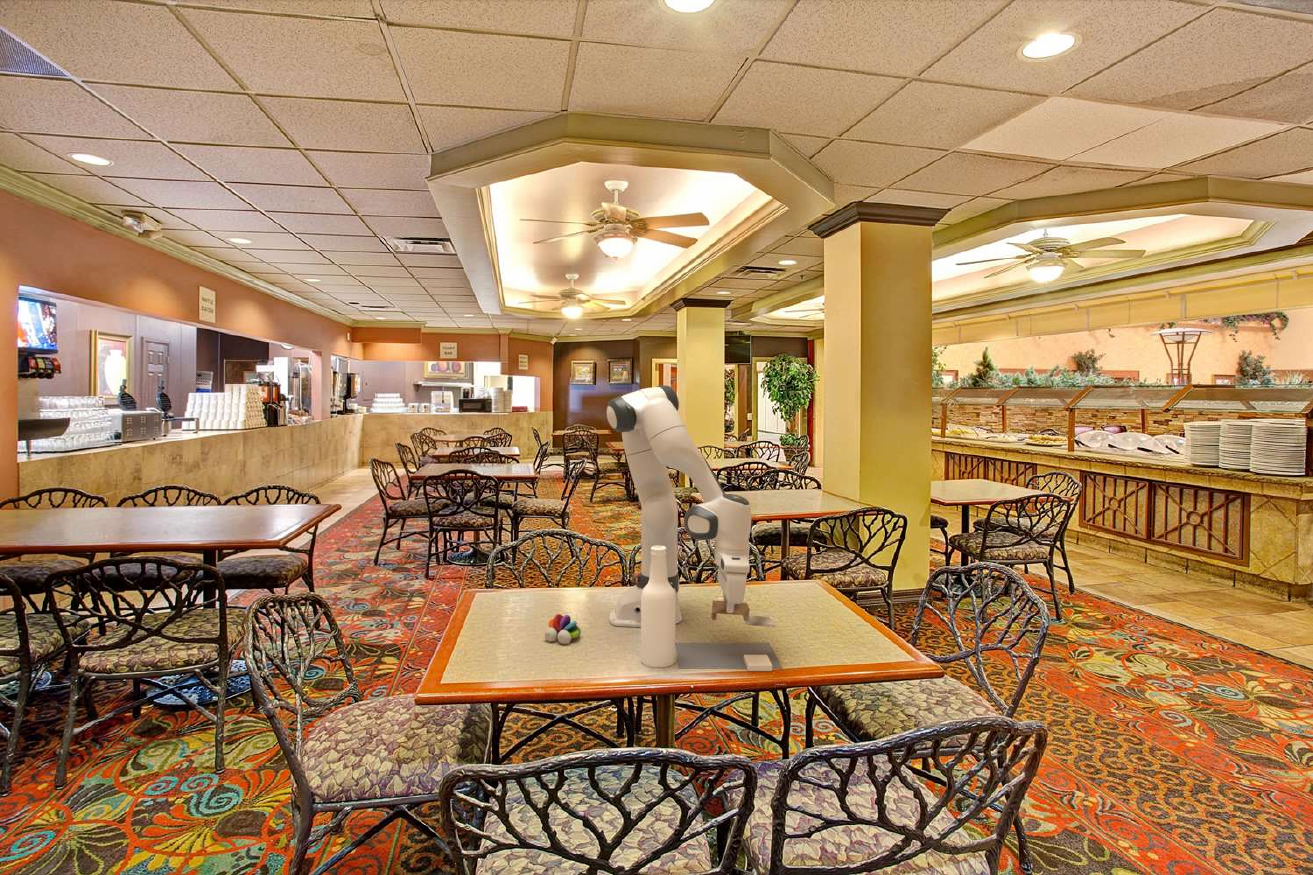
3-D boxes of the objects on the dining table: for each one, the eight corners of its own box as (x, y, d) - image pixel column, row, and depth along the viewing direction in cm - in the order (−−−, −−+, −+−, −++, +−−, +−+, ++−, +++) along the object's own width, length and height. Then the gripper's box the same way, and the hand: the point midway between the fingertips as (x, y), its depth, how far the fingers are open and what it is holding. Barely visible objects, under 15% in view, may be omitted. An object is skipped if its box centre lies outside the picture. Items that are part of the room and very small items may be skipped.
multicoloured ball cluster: (557, 632, 191) (557, 607, 190) (586, 637, 186) (586, 612, 186) (540, 641, 183) (540, 616, 183) (569, 647, 179) (569, 621, 178)
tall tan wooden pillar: (713, 622, 168) (715, 605, 168) (710, 614, 174) (711, 598, 174) (774, 626, 169) (775, 609, 169) (768, 619, 175) (770, 602, 175)
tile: (743, 660, 168) (747, 671, 161) (743, 654, 168) (747, 665, 161) (766, 660, 169) (772, 671, 162) (766, 654, 168) (772, 665, 162)
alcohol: (668, 654, 173) (669, 542, 172) (680, 667, 165) (681, 549, 164) (636, 658, 171) (637, 544, 169) (646, 671, 162) (647, 551, 161)
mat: (678, 670, 163) (678, 668, 163) (675, 644, 181) (675, 642, 181) (782, 670, 163) (782, 668, 163) (769, 644, 181) (769, 642, 181)
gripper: (714, 547, 180) (710, 597, 181) (725, 566, 160) (722, 622, 161) (736, 548, 181) (733, 598, 182) (751, 568, 160) (747, 623, 161)
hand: (728, 609), depth 171 cm, fingers closed on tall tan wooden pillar, 2 cm apart
